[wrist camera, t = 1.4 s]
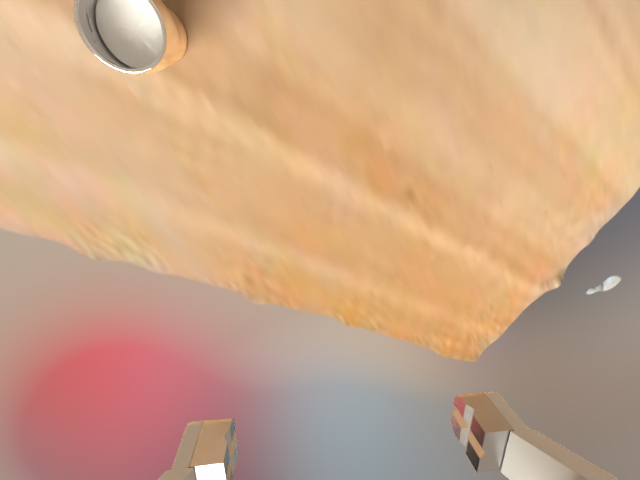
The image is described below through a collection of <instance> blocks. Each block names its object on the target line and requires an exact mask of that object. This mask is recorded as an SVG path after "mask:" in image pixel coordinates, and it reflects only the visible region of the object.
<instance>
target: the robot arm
mask: <svg viewBox="0 0 640 480" xmlns="http://www.w3.org/2000/svg"><path fill="white" fill-rule="evenodd" d="M454 405H455V406H456V409H455V410H454V411H453V412H452V418H451V420H452V426H453V430H454V433H455V435H456V437H457V439H458V440H459V442H460V443H462V444H463V445H465V446H466V447H467V448H466V454H467V456H468V458H469V459H470V461H471V463H472V465H473V466H474V468H475V470H476V472H489V471H499V470H501V473H503V474H504V475H505V476H506V477H507V478H508V479H510V480H618V479H617V478H616V477H615V476H613V475H611V474H609V473H608V472H606V471H604V470H602V469H601V468H599V467H597V466H596V465H594V464H592V463H591V462H589V461H587V460H585V459H584V458H582V457H580V456H579V455H577V454H575V453H573V452H572V451H570V450H568V449H567V448H565V447H563V446H562V445H560V444H558V443H556V442H555V441H553V440H551V439H549V438H548V437H546V436H544V435H543V434H541V433H539V432H537V431H536V430H534V429H528V428H527V427H526V425H525V424H524V423H523V422H522V421H521V419H520V418H519V417H518V416H517V415H516V413H515V412H514V411H513V410H512V409H511V407H510V406H509V405H508V404H507V403H506V402H505V400H504V399H503V398H502V397H501V396H500V394H499V393H497V392H496V391H493V392H484V393H474V394H465V395H457V396H456V397H455V398H454ZM234 430H235V423H234V419H219V420H205V421H195V422H189V423H188V424H187V426H186V428H185V431H184V434H183V436H182V440H181V442H180V445H179V448H178V451H177V454H176V457H175V460H174V463H173V465H172V468H171V470H168V471H165V472H164V473H163V475H162V476H161V477H160V478H159V479H158V480H233V476H232V471H233V470H234V469H235V467H236V460H237V437H236V435H235V434H234Z"/></svg>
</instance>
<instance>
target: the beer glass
mask: <svg viewBox="0 0 640 480" xmlns="http://www.w3.org/2000/svg"><path fill="white" fill-rule="evenodd" d="M73 14H74V20H75V24H76V27H77V30H78V32H79V34H80V36H81V38H82V40H83V42H84V43H85V45H86V46H87V47H88V49H89V50H90V51H91V52H92V53H93V54H94V55H95V56H96V57H97V58H98V59H99V60H101V61H102V62H103V63H105V64H106V65H108V66H109V67H111V68H113V69H116V70H118V71H121V72H125V73H131V74H149V73H155V72H158V71H161V70H163V69H165V68H166V67H168V66H169V65H170V64H172V63H175V62H177V61H178V60H180V59H181V58H182V56H183V55H184V53H185V51H186V48H187V36H186V31H185V29H184V26H183V24H182V23H181V21H180V20H179V18H178V17H177V16H176V15H175V14H174V13H173V12H172V11H171V10H170V9H168V8H167V7H166V5H165V4H164V3H163V2H162V1H161V0H74V4H73Z"/></svg>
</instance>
